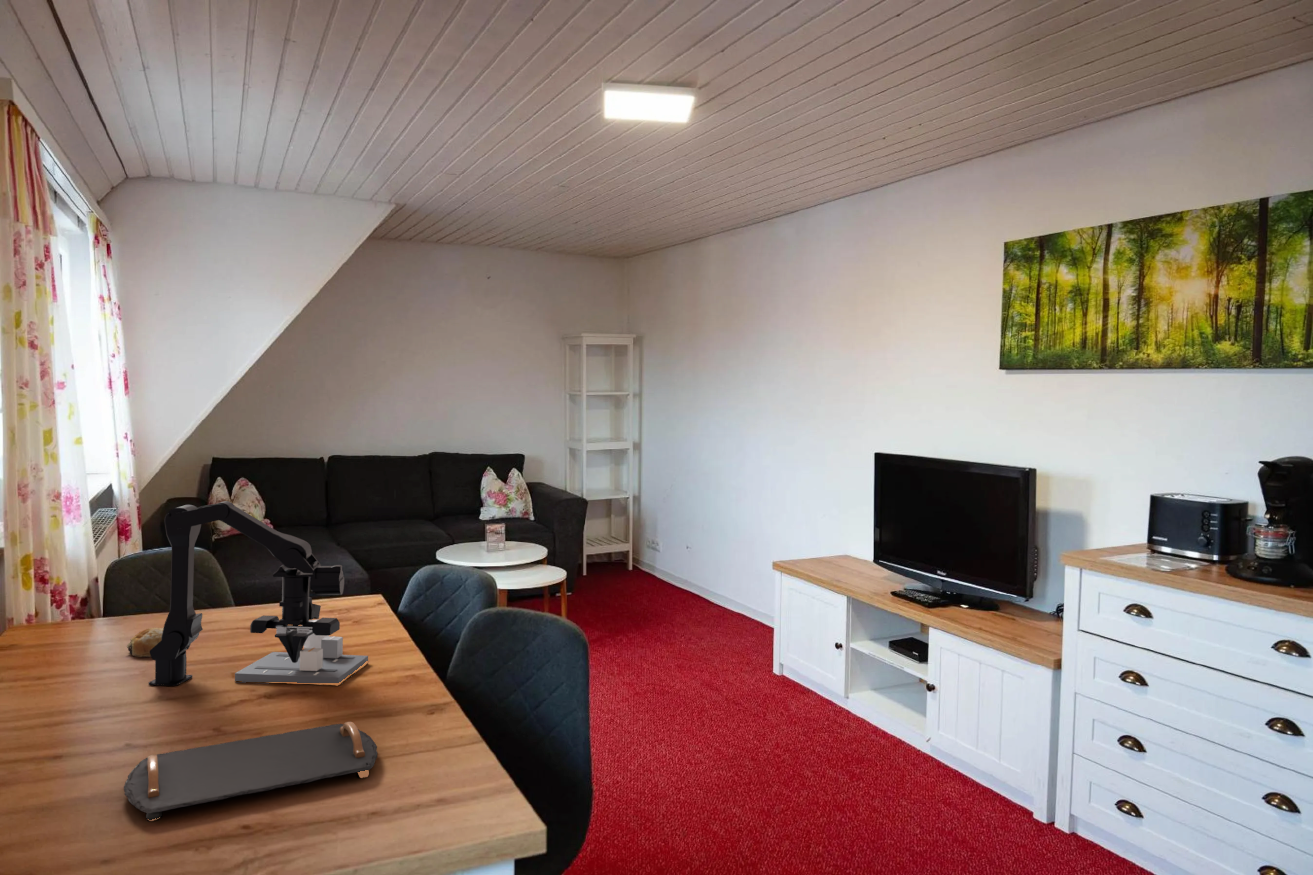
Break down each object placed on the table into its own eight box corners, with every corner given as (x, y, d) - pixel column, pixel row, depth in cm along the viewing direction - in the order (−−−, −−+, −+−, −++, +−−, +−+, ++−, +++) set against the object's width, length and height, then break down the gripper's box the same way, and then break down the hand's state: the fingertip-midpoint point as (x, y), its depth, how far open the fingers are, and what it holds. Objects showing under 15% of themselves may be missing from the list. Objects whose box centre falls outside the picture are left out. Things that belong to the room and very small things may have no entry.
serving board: (359, 734, 163) (360, 702, 163) (390, 779, 143) (390, 743, 143) (124, 775, 142) (124, 739, 142) (122, 835, 123) (122, 794, 123)
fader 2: (337, 658, 202) (337, 639, 202) (321, 657, 202) (321, 639, 202) (342, 654, 205) (342, 636, 205) (326, 654, 205) (326, 635, 205)
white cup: (334, 645, 220) (335, 619, 220) (321, 653, 213) (322, 626, 213) (310, 644, 221) (310, 618, 220) (296, 651, 214) (296, 624, 214)
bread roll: (151, 673, 206) (165, 644, 205) (114, 654, 206) (128, 625, 205) (175, 661, 216) (189, 633, 215) (140, 643, 216) (153, 615, 215)
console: (338, 686, 189) (338, 676, 188) (234, 681, 190) (234, 672, 190) (368, 663, 205) (368, 655, 205) (272, 659, 207) (272, 651, 207)
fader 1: (316, 670, 192) (317, 651, 192) (299, 670, 192) (299, 650, 192) (322, 666, 195) (322, 647, 195) (305, 666, 195) (306, 647, 195)
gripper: (349, 589, 201) (349, 653, 201) (273, 586, 202) (273, 650, 202) (329, 599, 190) (328, 667, 190) (249, 596, 190) (248, 664, 191)
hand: (295, 662), depth 194 cm, fingers closed
